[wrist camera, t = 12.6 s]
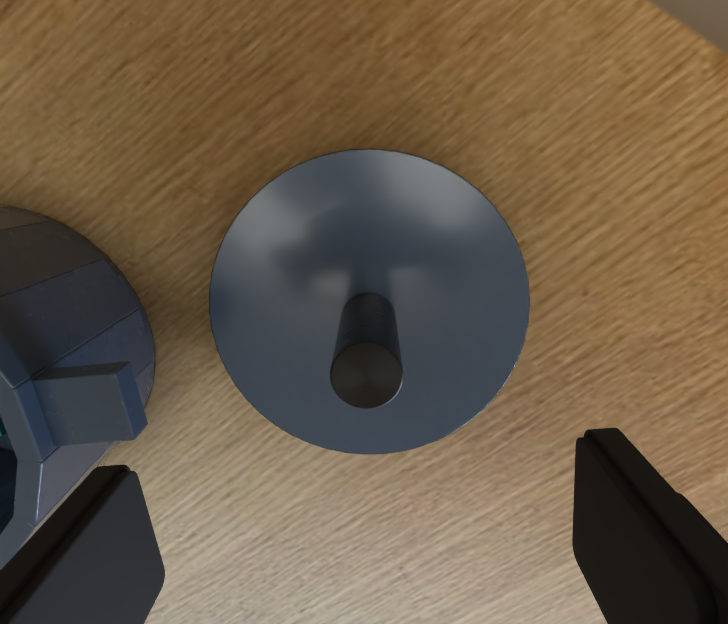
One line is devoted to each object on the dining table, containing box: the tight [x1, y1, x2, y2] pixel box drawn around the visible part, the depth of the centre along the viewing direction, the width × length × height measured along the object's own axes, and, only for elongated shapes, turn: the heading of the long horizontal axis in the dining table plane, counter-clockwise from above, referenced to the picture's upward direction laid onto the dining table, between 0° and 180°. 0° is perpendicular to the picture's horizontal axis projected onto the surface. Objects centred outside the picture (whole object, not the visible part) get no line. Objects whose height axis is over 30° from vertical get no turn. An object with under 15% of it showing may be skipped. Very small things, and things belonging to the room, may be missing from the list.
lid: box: [209, 149, 530, 454], centre depth 19 cm, size 14×14×7 cm
